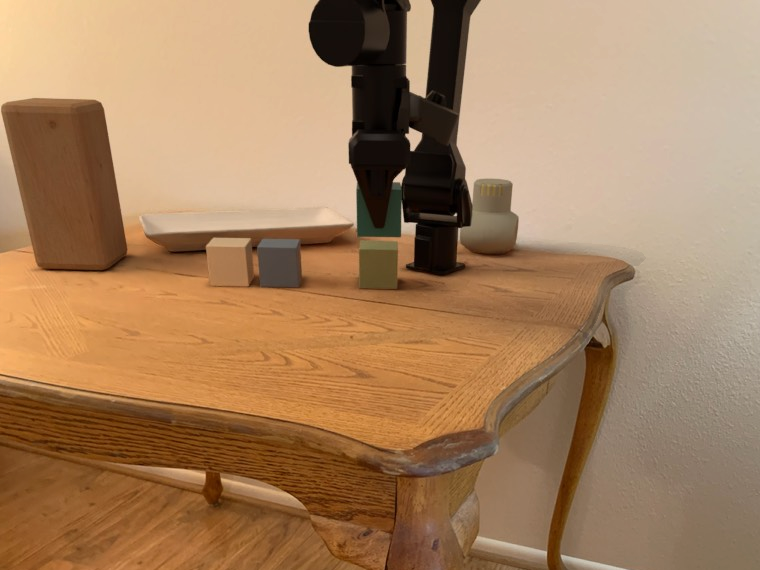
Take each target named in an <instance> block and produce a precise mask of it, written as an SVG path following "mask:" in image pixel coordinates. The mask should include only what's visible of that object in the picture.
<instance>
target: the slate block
mask: <svg viewBox="0 0 760 570" xmlns="http://www.w3.org/2000/svg"><path fill="white" fill-rule="evenodd" d="M256 251H257V264H258V265H257V266H258V276H259V286H260V287H261V288H299V286H300V284H301V281H302V279H303V271H302V270H303V269H302V252H301V251H302V248H301V244H300V239H262V240H261V242H260V244H259V245H258V247H256Z"/></svg>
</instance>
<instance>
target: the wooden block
mask: <svg viewBox="0 0 760 570" xmlns="http://www.w3.org/2000/svg"><path fill="white" fill-rule="evenodd" d="M0 108H1V109H0V113H1V117H2V122H3V127H4V130H5V134H6V138H7V143H8V148H9V153H10V156H11V160H12V164H13V169H14V173H15V177H16V183H17V186H18V190H19V195H20V199H21V203H22V208H23V213H24V216H25V220H26V225H27V229H28V233H29V238H30V243H31V247H32V251H33V255H34V259H35V263H36V265H37V267H38V268H41V269H44V270H70V271H105V270H107V269H109V268H111V267H112V266H113V265H115V264H116V263H117V262H119V261H120V260H121V259H123V258H124V257H126V256H127V254H128V243H127V239H126V233H125V226H124V221H123V215H122V208H121V204H120V196H119V190H118V184H117V178H116V172H115V167H114V161H113V155H112V148H111V143H110V137H109V130H108V125H107V119H106V113H105V108H104V106H103V104H102V102H101V101H98V100H97V99H89V98H88V99H87V98H86V99H84V98H53V97H48V98H47V97H32V98H31V97H30V98H25V99H19V100H11V101H6V102H4V103H2V104H1V107H0Z"/></svg>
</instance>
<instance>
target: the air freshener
mask: <svg viewBox="0 0 760 570" xmlns="http://www.w3.org/2000/svg"><path fill="white" fill-rule="evenodd" d="M512 197H513V182H512V181H511V180H509V179H503V178H477V179H476V180H475V181H474V182H473V189H472V200H471V201H472V206H473V210H472V221H471V226H469V227H463V228H459V243H460V244H461V246H463V247H464V248H465V249H467V250H469V251H470V252H474V253H477V254H485V255H487V254H488V255H500V254H505V253H508V252H509V251H511V250H514V248H515V247H516V244H517V239H518V232H519V216H518V214H516V213H515V212H514V211H512V209H511V208H512Z"/></svg>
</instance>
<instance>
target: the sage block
mask: <svg viewBox="0 0 760 570" xmlns="http://www.w3.org/2000/svg"><path fill="white" fill-rule="evenodd" d="M398 244H399V243H398V241H397V240H359V247H358V288H359V289H360V290H361V289H363V290H364V289H365V290H368V289H369V290H398V272H399V271H398V270H399V269H398V268H399V265H398V264H399V245H398Z"/></svg>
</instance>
